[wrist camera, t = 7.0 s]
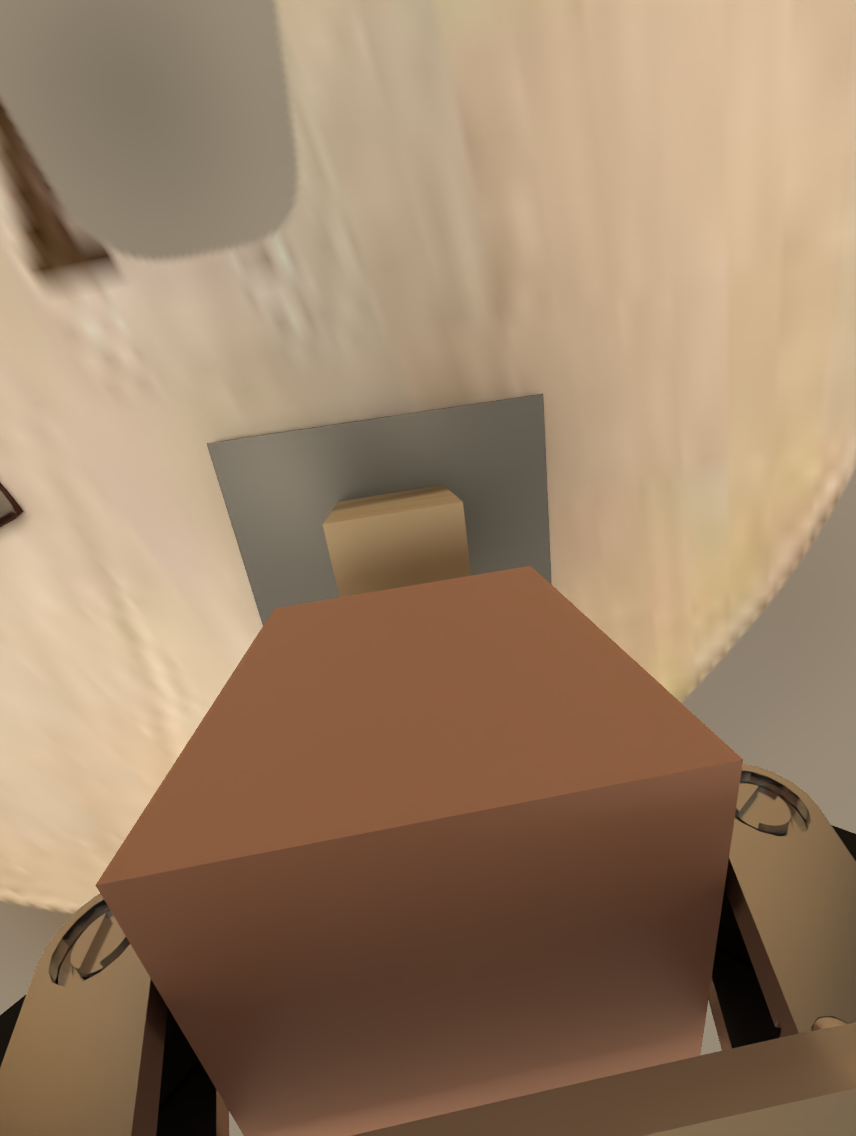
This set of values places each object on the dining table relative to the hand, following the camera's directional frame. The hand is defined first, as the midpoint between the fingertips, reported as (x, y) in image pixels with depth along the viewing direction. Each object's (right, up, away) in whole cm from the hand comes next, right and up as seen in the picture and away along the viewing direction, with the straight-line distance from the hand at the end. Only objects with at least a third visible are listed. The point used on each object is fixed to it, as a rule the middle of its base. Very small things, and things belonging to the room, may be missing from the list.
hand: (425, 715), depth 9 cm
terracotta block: (0, 0, +1) cm, 1 cm away
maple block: (-2, +5, +14) cm, 15 cm away
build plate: (-2, +5, +15) cm, 16 cm away
